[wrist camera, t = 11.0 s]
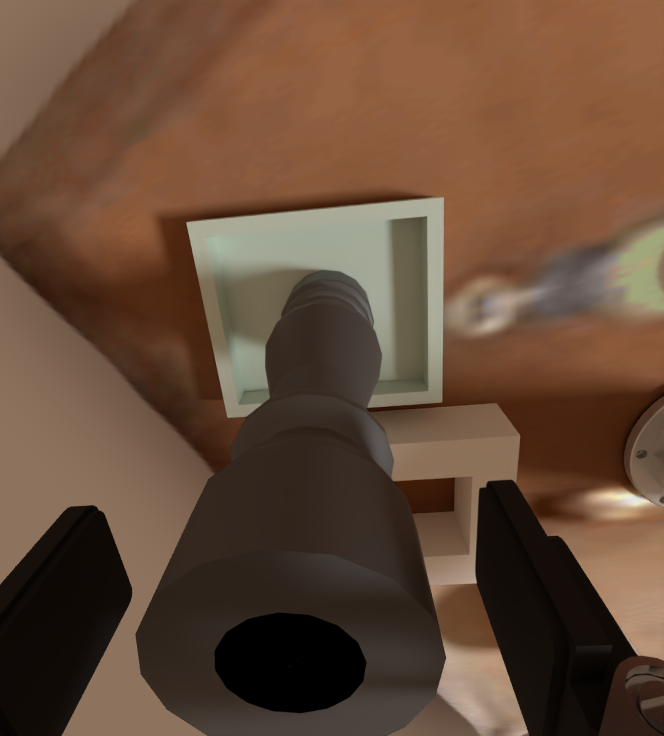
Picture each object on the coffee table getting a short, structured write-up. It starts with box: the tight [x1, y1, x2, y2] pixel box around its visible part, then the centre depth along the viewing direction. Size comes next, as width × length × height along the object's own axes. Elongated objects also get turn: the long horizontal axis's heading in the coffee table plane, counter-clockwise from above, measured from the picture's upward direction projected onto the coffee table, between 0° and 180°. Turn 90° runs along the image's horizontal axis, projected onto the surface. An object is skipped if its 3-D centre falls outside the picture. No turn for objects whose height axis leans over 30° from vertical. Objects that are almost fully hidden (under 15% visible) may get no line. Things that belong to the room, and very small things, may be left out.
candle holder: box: [136, 270, 446, 736], centre depth 19 cm, size 6×6×25 cm
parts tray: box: [186, 197, 444, 418], centre depth 30 cm, size 16×14×3 cm
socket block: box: [370, 403, 520, 586], centre depth 35 cm, size 14×14×5 cm
